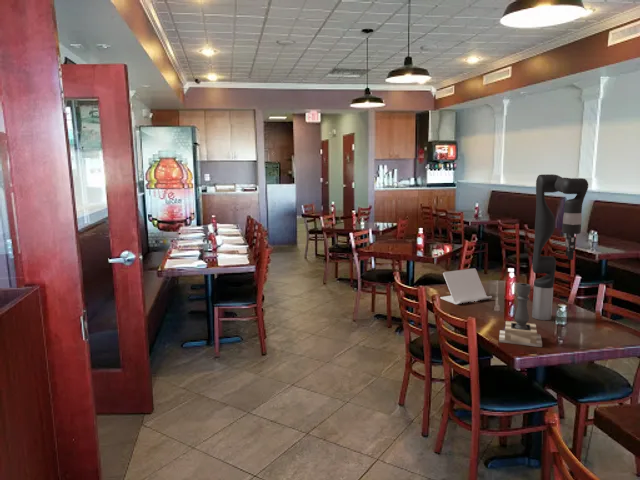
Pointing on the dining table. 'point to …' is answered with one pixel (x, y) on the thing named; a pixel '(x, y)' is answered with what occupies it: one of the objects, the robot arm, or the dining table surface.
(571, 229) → the robot arm
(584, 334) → the dining table surface
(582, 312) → the dining table surface
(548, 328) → the dining table surface
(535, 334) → the socket
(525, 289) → the candle holder
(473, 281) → the grey laptop
